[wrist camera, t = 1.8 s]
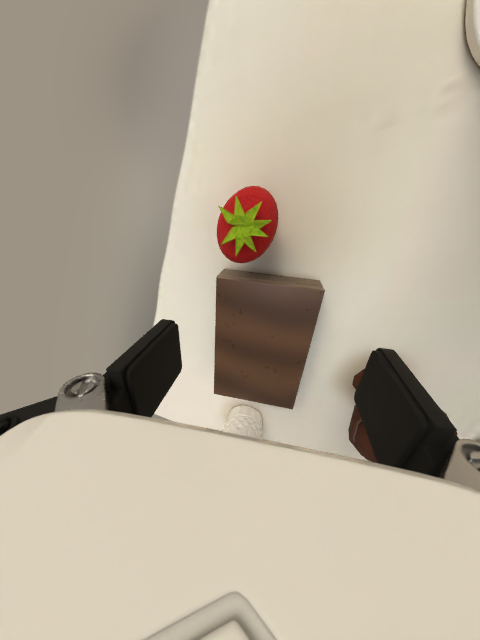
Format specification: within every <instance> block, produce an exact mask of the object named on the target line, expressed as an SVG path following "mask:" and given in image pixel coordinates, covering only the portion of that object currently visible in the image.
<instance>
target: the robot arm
mask: <svg viewBox="0 0 480 640" xmlns="http://www.w3.org/2000/svg"><path fill="white" fill-rule="evenodd" d="M465 26H466V35H467V42H468V45H469V48H470V51H471V54H472V56H473V58H474V59H475V61H476V62H477V63H478V65H479V66H480V0H467V3H466V17H465ZM181 369H182V361H181V351H180V341H179V331H178V325H177V324H175V322H174V321H172V320H165V319H162V320H161V321H159V322H158V323H157V324H156V325H155V326H154V327H153V328H152V329H151V330H149V331H148V332H147V333H146V334H145V335H144V336H143V337H142V338H140V339H139V340H138V341H137V342H136V343H135V344H134V345H133V346H131V347H130V348H129V349H128V350H127V351H126V352H125V353H124V354H122V355H121V356H120V357H119V358H118V359H117V360H116V361H115V362H113V363H112V364H111V365H110V366H109V367H108V368H107V369H106V370H107V372H106V373H105V374H104V375H101V374H99V373H86V374H82V375H80V376H76V377H74V378H72V379H70V380H69V381H68V382H66V383H65V384H64V385H63V386H62V387H61V388H60V390H59V393H58V396H57V397H53V398H50V399H47V400H44V401H41V402H38V403H35V404H32V405H29V406H26V407H23V408H20V409H17V410H14V411H11V412H7V413H5V414H1V415H0V640H480V442H477V441H474V440H470V439H459V438H458V437H457V435H456V434H455V432H456V431H457V429H456V428H455V427H454V426H453V424H452V423H451V422H450V421H449V419H448V418H447V417H446V415H445V414H444V413H443V412H442V410H441V409H440V408H439V407H438V405H437V404H436V403H435V401H434V400H433V399H432V398H431V396H430V395H429V394H428V393H427V391H426V390H425V389H424V387H423V386H422V385H421V384H420V382H419V381H418V380H417V379H416V377H415V376H414V375H413V373H412V372H411V371H410V370H409V368H408V367H407V366H406V365H405V363H404V362H403V361H402V359H401V358H400V357H399V356H398V354H397V353H396V352H395V351H394V350H391V349H383V348H378V349H377V350H376V351H372V353H371V355H370V357H369V360H368V362H367V365H366V367H365V370H364V372H363V375H362V377H361V380H360V382H359V385H358V387H357V390H356V392H355V396H354V399H355V403H356V406H357V408H358V411H359V414H360V417H361V419H362V422H363V425H364V427H365V430H366V433H367V436H368V438H369V441H370V444H371V446H372V449H373V452H374V454H375V457H376V460H377V463H374V462H369V461H365V460H360V459H355V458H350V457H345V456H341V455H336V454H331V453H326V452H321V451H316V450H312V449H307V448H302V447H297V446H292V445H287V444H282V443H278V442H273V441H268V440H263V439H258V438H253V437H248V436H243V435H238V434H233V433H228V432H223V431H218V430H213V429H208V428H203V427H198V426H193V425H187V424H182V423H177V422H172V421H167V420H162V419H156V418H151V417H152V415H153V414H154V412H155V411H156V409H157V408H158V406H159V405H160V403H161V401H162V400H163V398H164V397H165V395H166V394H167V392H168V391H169V389H170V387H171V386H172V384H173V383H174V381H175V380H176V378H177V377H178V375H179V373H180V372H181Z"/></svg>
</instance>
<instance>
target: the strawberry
mask: <svg viewBox="0 0 480 640" xmlns="http://www.w3.org/2000/svg"><path fill="white" fill-rule="evenodd" d="M219 208H220V210H221V214H220V217H219V220H218V225H217V239H218V244H219V247H220V249H221V251H222V253H223V254H224V255H225V256H226V257H227V258H228V259H229V260H231V261H233V262H237V263H246V262H250V261H253V260H255V259H256V258H258V257H260V256H261V255H262V254H263V253H264V252H265V251H266V250H267V248H268V247H269V246H270V244H271V242H272V240H273V238H274V236H275V233H276V229H277V225H278V209H277V205H276V202H275V200H274V198H273V196H272V195H271V194H270V193H269V192H268V191H267V190H266V189H264V188H261V187H259V186H250V187H246V188H243V189H241V190H239V191H238V192H237V193H235V194H234V195H233V196H232V197H231V198H230V199H229V200H228V201H227V203H226V204H225V206H224V207H223V208H222V207H220V206H219Z"/></svg>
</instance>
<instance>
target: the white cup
mask: <svg viewBox="0 0 480 640" xmlns="http://www.w3.org/2000/svg"><path fill="white" fill-rule="evenodd" d="M223 432H228V433H233V434H238V435H243V436H248V437H253V438H258V439H262V417H261V414H260V413H259V412H258V411H257V410H256V409H254V408H252V407H250V406H244V405H239V406H236V407H233V408H232V409H231V410H230V412H229V415H228V418H227V421H226V423H225V425H224V428H223Z"/></svg>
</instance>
